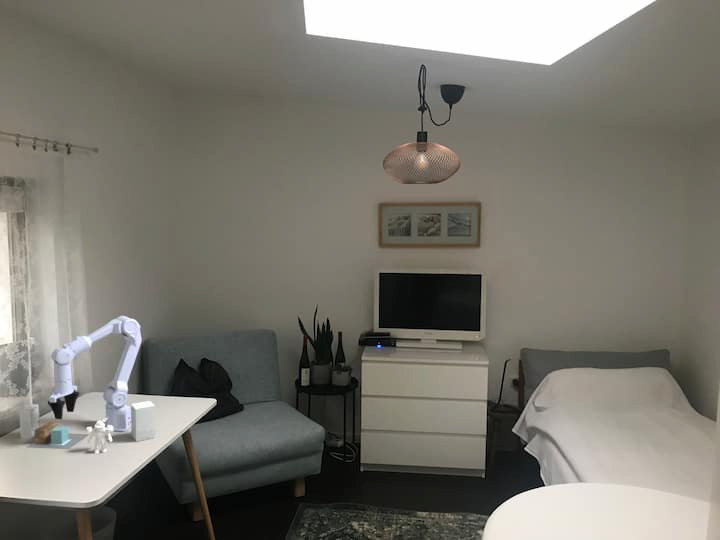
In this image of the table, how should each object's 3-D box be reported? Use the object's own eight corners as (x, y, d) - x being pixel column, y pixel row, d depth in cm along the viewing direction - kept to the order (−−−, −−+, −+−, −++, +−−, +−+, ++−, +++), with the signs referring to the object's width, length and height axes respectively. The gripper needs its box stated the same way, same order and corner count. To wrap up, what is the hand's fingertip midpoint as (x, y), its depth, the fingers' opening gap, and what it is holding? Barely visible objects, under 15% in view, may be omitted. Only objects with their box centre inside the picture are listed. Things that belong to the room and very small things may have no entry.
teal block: (68, 440, 211) (67, 426, 211) (61, 444, 207) (61, 430, 207) (58, 439, 212) (57, 426, 211) (51, 443, 208) (50, 430, 207)
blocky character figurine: (114, 448, 207) (113, 415, 206) (113, 452, 203) (112, 419, 202) (87, 451, 204) (86, 418, 203) (85, 455, 201) (84, 422, 199)
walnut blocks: (59, 435, 216) (58, 422, 216) (45, 443, 208) (44, 430, 207) (49, 434, 216) (48, 421, 216) (34, 443, 208) (34, 430, 208)
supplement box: (156, 438, 217) (155, 405, 216) (135, 442, 213) (134, 409, 212) (151, 431, 223) (150, 400, 222) (131, 435, 219) (130, 403, 218)
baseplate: (90, 436, 217) (90, 433, 217) (68, 451, 204) (68, 448, 203) (50, 435, 219) (49, 432, 219) (26, 449, 205) (25, 446, 205)
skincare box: (32, 441, 213) (30, 409, 212) (20, 441, 213) (18, 409, 212) (40, 434, 219) (39, 404, 218) (28, 434, 219) (27, 404, 218)
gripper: (63, 374, 220) (65, 408, 221) (40, 385, 206) (42, 421, 207) (81, 374, 220) (83, 408, 221) (59, 385, 205) (61, 422, 206)
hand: (64, 415), depth 214 cm, fingers open, 7 cm apart
